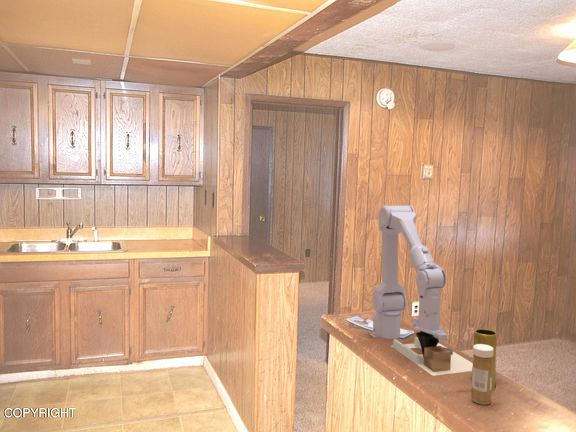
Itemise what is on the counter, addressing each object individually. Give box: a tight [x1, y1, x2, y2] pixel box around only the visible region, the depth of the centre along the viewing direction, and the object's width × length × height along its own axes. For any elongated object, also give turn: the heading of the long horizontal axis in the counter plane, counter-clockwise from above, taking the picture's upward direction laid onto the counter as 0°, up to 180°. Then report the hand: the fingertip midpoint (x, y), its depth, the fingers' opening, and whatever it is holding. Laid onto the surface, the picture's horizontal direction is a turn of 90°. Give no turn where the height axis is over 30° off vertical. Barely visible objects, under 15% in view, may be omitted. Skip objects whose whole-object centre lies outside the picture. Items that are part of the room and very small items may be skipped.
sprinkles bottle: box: [471, 344, 494, 406], centre depth 121 cm, size 5×5×14 cm
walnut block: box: [424, 346, 451, 372], centre depth 138 cm, size 5×5×5 cm
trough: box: [392, 336, 422, 365], centre depth 148 cm, size 14×8×2 cm, turn 16°
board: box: [391, 342, 473, 377], centre depth 146 cm, size 23×16×2 cm
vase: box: [471, 328, 498, 391], centre depth 129 cm, size 6×6×14 cm
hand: (427, 358), depth 142 cm, fingers closed
